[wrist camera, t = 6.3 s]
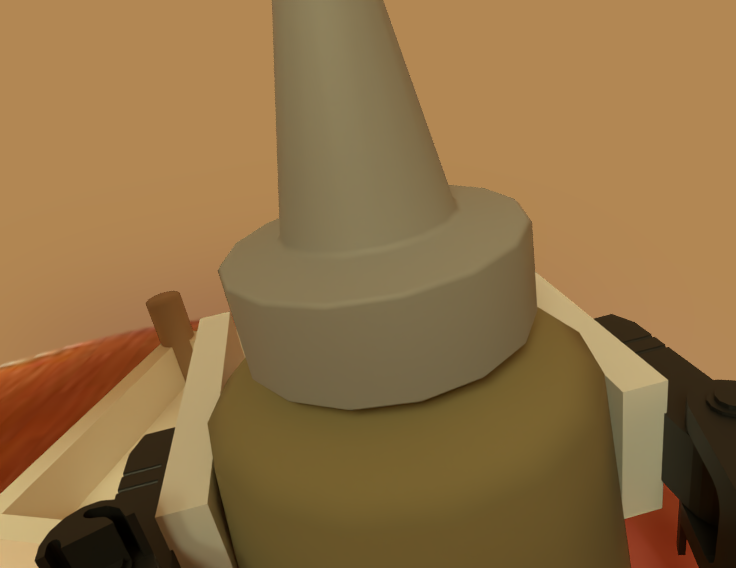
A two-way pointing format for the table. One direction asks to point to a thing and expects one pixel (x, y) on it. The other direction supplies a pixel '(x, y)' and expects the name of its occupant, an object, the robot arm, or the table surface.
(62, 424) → the table surface
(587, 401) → the squeeze bottle
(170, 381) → the tray
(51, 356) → the table surface
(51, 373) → the table surface
